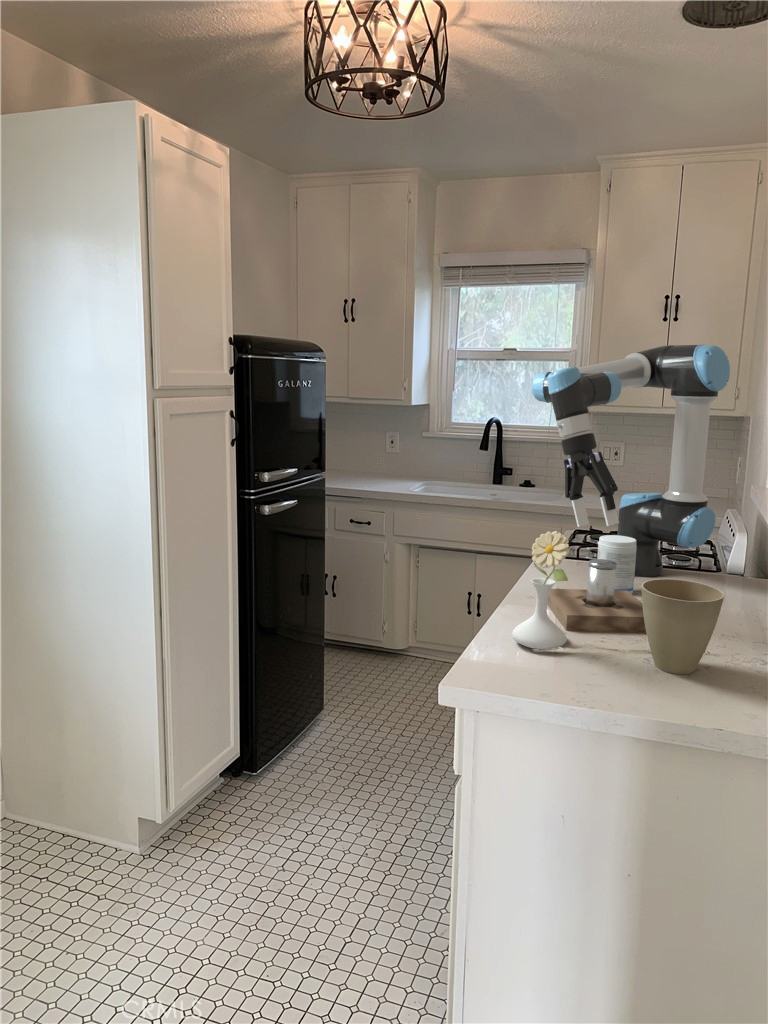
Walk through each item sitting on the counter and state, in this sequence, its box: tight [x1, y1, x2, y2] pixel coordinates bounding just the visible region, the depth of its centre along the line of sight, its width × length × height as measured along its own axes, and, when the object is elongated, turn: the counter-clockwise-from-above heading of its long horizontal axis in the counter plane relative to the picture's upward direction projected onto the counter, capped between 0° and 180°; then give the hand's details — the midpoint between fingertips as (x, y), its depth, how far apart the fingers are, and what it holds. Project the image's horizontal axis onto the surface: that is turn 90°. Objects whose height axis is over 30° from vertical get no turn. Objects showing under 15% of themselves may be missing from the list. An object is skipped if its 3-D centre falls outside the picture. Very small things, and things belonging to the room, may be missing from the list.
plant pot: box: [641, 578, 725, 675], centre depth 144 cm, size 15×15×16 cm
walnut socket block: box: [547, 588, 647, 634], centre depth 171 cm, size 20×20×4 cm
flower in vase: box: [511, 530, 570, 650], centre depth 152 cm, size 13×11×25 cm
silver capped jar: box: [586, 558, 616, 607], centre depth 170 cm, size 6×6×13 cm
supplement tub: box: [596, 534, 637, 594], centre depth 193 cm, size 10×10×15 cm
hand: (597, 525), depth 170 cm, fingers open, 13 cm apart
